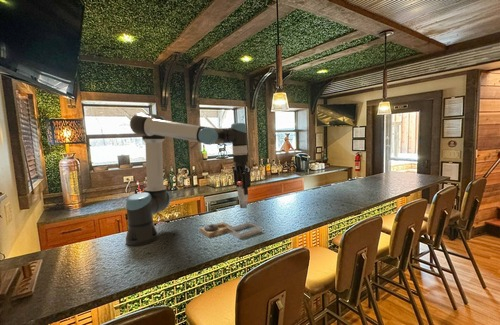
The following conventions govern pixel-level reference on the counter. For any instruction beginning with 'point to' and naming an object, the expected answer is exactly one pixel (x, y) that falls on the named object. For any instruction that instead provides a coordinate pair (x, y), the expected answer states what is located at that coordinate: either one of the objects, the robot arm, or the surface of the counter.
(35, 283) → the counter surface
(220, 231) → the tensioner block
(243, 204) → the lock pin
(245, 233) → the tray
